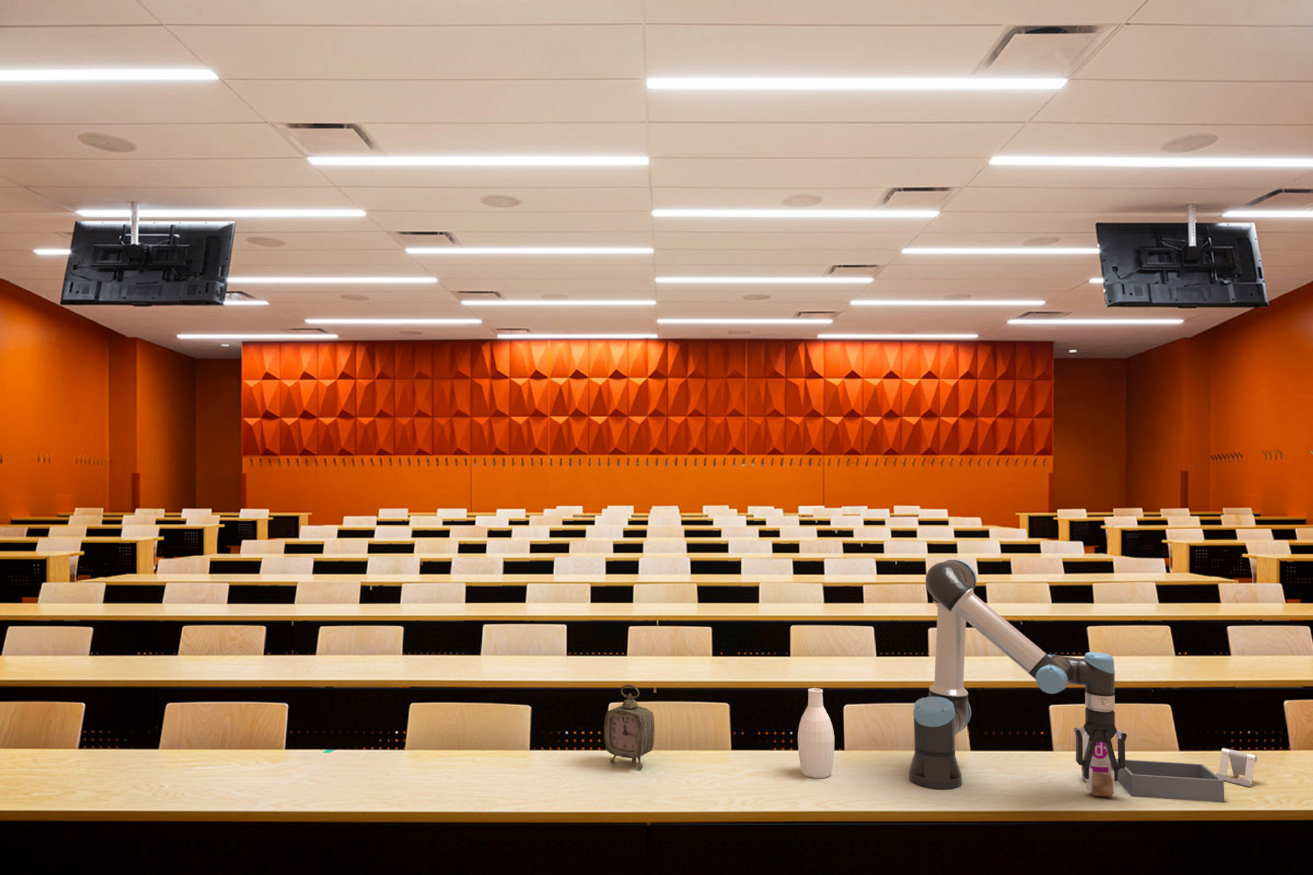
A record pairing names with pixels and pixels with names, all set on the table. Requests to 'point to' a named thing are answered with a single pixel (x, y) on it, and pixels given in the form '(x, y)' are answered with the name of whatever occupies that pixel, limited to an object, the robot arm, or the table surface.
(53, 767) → the table surface
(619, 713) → the tabletop clock
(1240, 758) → the portable electronic device stand
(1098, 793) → the walnut cube
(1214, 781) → the tote
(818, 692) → the bottle
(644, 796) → the table surface
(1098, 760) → the supplement can
